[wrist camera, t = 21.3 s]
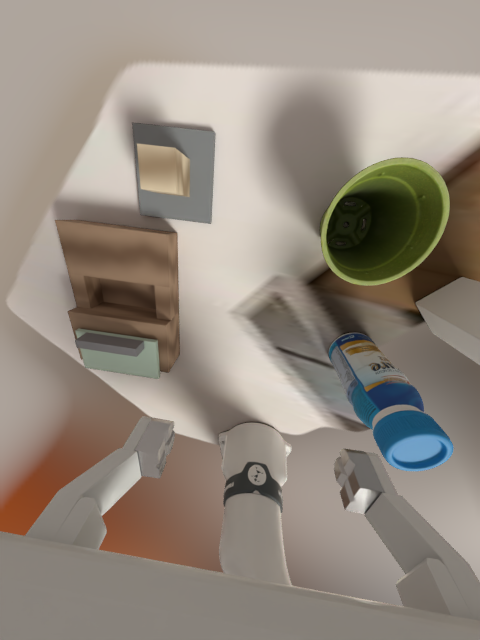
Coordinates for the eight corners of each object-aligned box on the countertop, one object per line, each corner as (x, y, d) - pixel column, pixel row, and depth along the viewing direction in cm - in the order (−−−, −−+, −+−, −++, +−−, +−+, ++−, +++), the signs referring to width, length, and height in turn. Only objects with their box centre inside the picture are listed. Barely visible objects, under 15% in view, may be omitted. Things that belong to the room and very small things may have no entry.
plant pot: (292, 204, 31) (306, 198, 21) (378, 160, 28) (444, 127, 18) (316, 277, 35) (338, 301, 25) (393, 245, 32) (454, 258, 22)
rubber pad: (211, 223, 33) (210, 223, 32) (143, 214, 33) (140, 214, 33) (215, 133, 28) (214, 131, 27) (135, 124, 29) (132, 122, 28)
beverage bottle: (317, 352, 41) (359, 454, 24) (351, 322, 38) (431, 415, 20) (348, 374, 43) (409, 486, 25) (383, 347, 40) (484, 454, 22)
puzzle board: (179, 354, 45) (168, 372, 39) (102, 342, 45) (81, 359, 40) (177, 232, 34) (161, 235, 29) (76, 219, 35) (42, 220, 29)
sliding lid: (160, 376, 40) (152, 388, 37) (88, 365, 40) (74, 376, 37) (157, 340, 36) (148, 351, 33) (78, 328, 37) (62, 338, 34)
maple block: (189, 197, 31) (176, 193, 26) (159, 193, 31) (140, 188, 26) (189, 159, 29) (175, 147, 24) (157, 155, 29) (136, 143, 24)
